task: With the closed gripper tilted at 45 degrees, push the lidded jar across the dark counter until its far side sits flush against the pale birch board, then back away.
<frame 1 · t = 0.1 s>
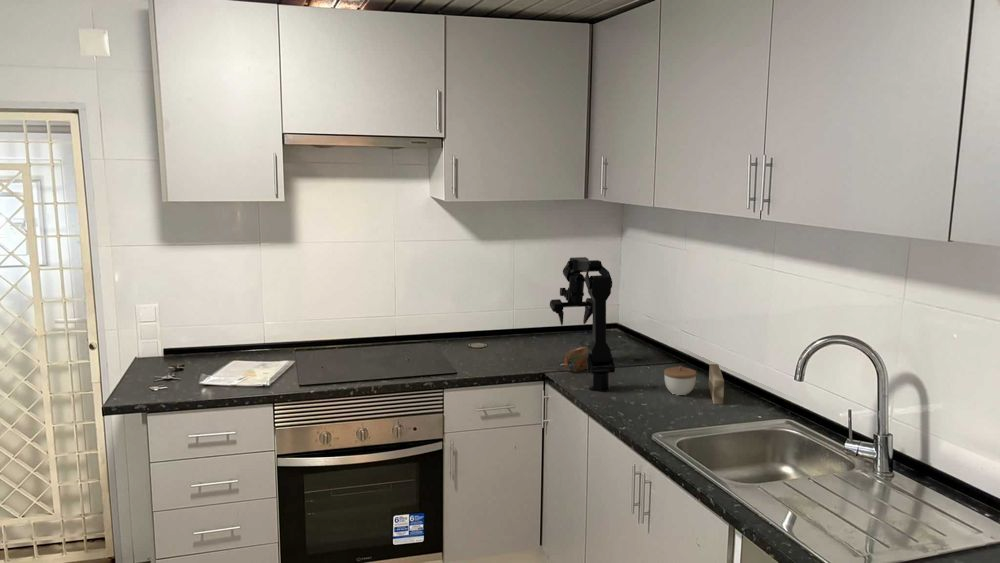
hand: (572, 324, 292), 15 cm above the worktop, tool pointing down, fingers open, 9 cm apart
birch board: (715, 394, 254), on the worktop
tin: (579, 369, 285), on the worktop
lidded jar: (679, 393, 256), on the worktop
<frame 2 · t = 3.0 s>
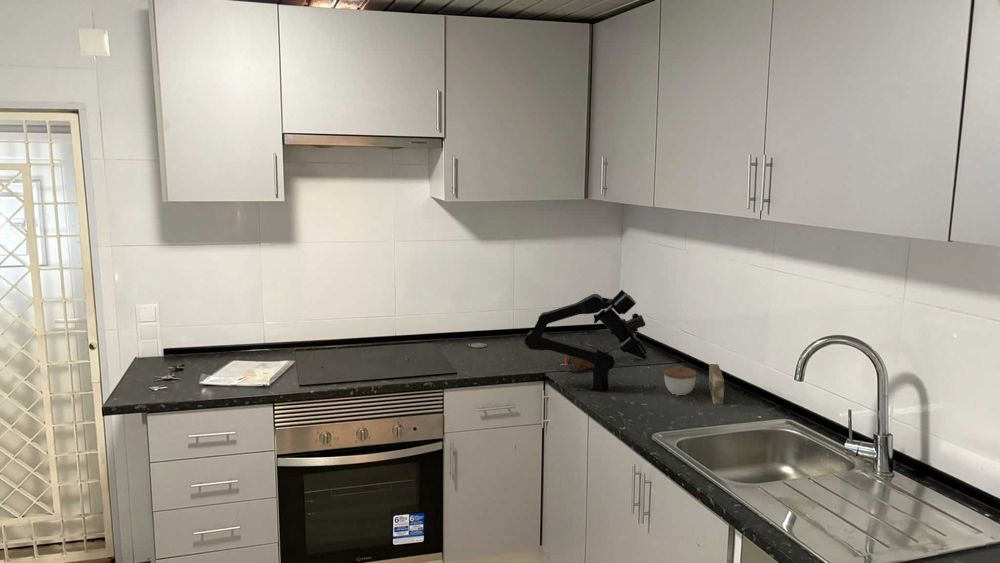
hand: (646, 355, 256), 13 cm above the worktop, tool tilted 45°, fingers open, 6 cm apart
nothing on the worktop moved.
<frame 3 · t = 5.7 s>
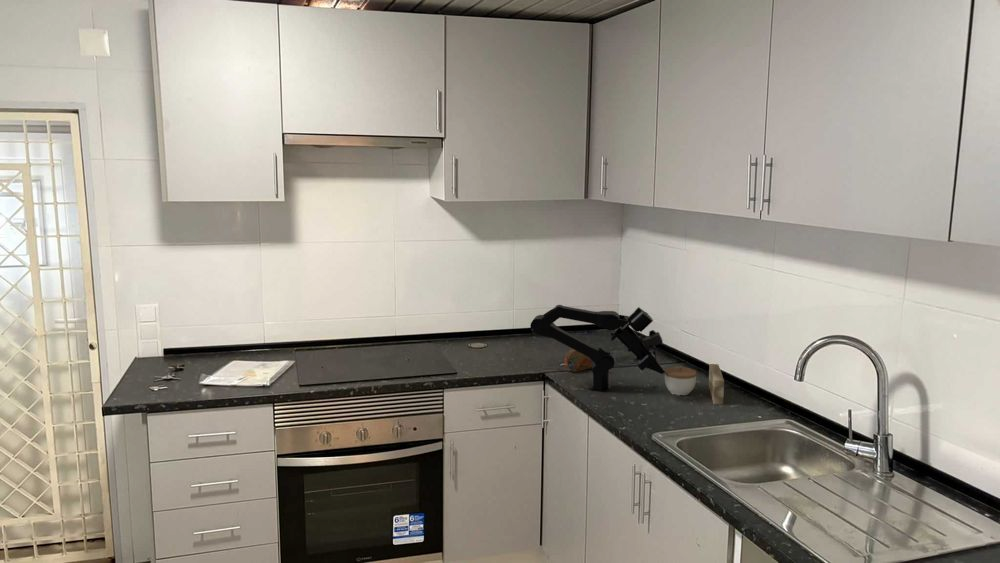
hand: (663, 372, 256), 7 cm above the worktop, tool tilted 45°, fingers closed, pressing on lidded jar
lidded jar: (679, 393, 256), on the worktop, touching gripper
everything else where it was.
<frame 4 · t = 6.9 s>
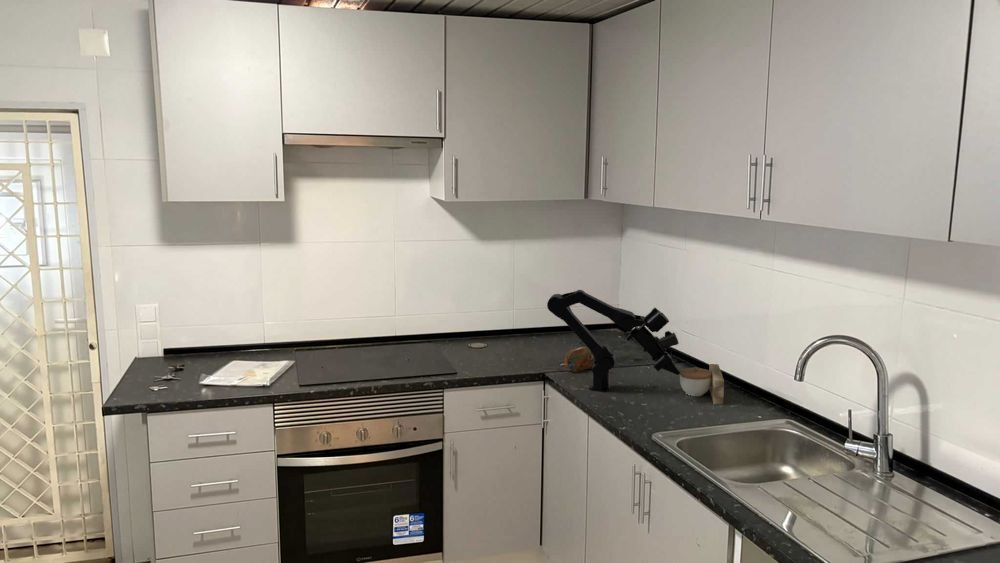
hand: (678, 373, 255), 7 cm above the worktop, tool tilted 45°, fingers closed, pressing on lidded jar
lidded jar: (694, 394, 255), on the worktop, touching birch board, gripper
everything else where it was.
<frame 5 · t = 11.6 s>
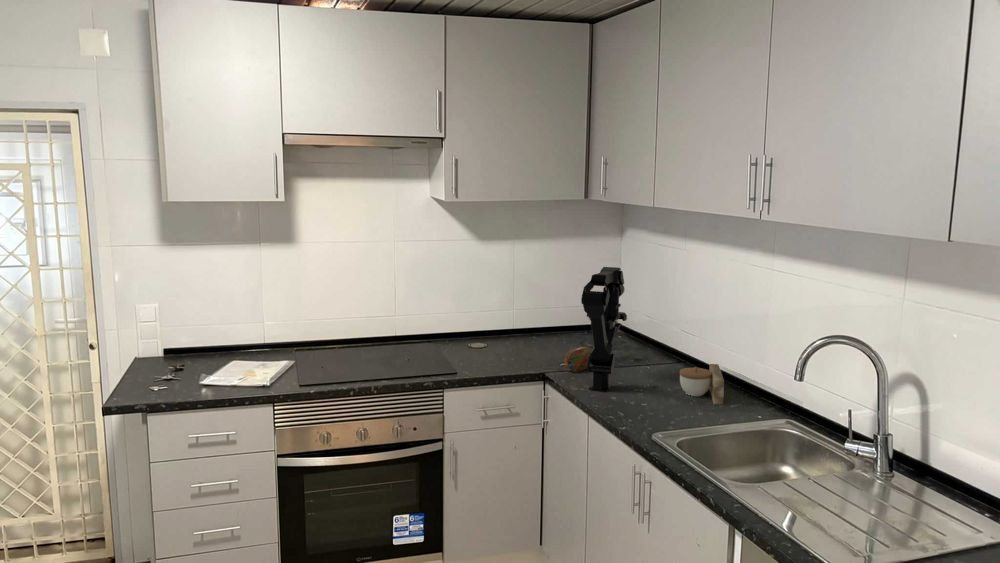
hand: (610, 343, 272), 13 cm above the worktop, tool pointing down, fingers closed
lidded jar: (694, 394, 255), on the worktop, touching birch board
everything else where it was.
at the end: lidded jar 0.4 cm from the target spot on the worktop beside the birch board, on the worktop; lidded jar tilted 0° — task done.
